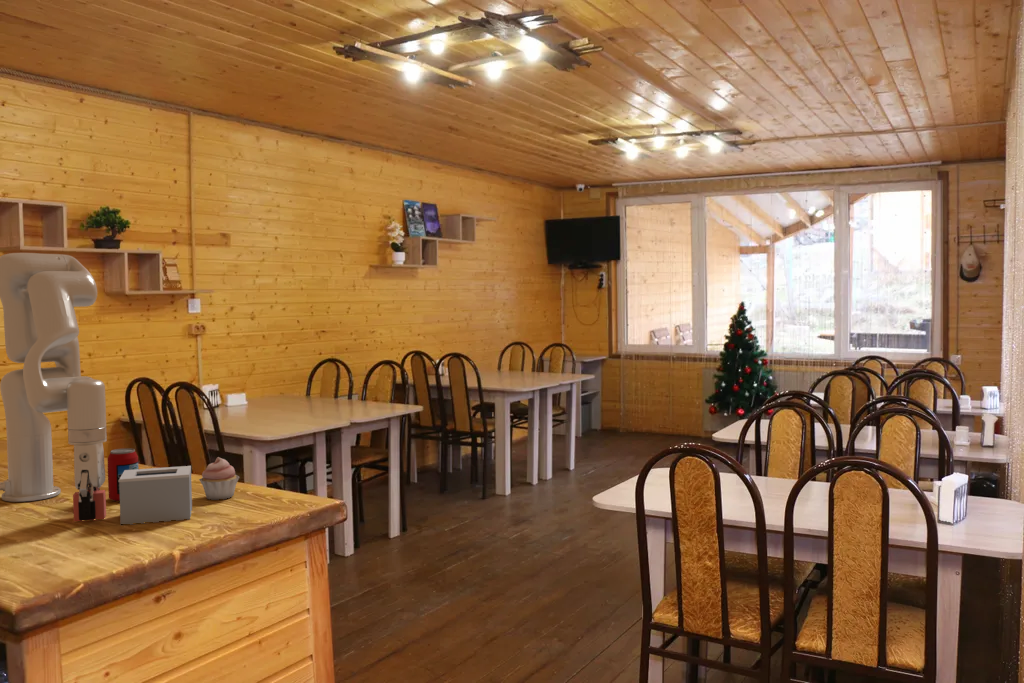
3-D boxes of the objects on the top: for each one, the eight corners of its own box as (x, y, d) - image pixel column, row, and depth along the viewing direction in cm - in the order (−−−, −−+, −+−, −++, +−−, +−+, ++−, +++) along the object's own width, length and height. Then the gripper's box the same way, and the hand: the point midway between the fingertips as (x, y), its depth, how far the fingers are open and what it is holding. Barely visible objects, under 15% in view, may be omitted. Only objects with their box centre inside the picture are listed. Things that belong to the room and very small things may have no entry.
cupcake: (192, 497, 200) (191, 457, 200) (228, 490, 207) (227, 451, 206) (210, 504, 194) (209, 462, 193) (246, 496, 201) (246, 456, 200)
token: (73, 522, 179) (73, 495, 178) (76, 518, 182) (75, 492, 181) (104, 519, 181) (103, 492, 180) (106, 516, 184) (105, 489, 183)
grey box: (120, 525, 176) (119, 479, 175) (125, 513, 185) (124, 470, 185) (190, 519, 180) (189, 474, 180) (192, 508, 190) (190, 465, 189)
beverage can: (127, 503, 195) (125, 453, 194) (102, 501, 196) (100, 452, 195) (145, 496, 201) (143, 448, 201) (121, 495, 203) (119, 447, 202)
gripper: (100, 441, 173) (103, 523, 174) (111, 428, 190) (113, 504, 190) (60, 443, 171) (63, 527, 172) (75, 430, 187) (77, 507, 188)
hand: (90, 514), depth 181 cm, fingers open, 6 cm apart
